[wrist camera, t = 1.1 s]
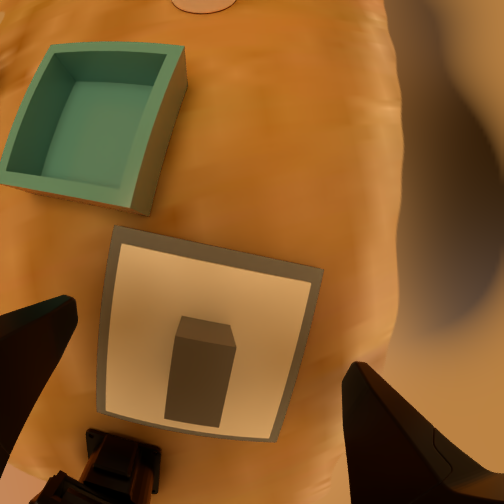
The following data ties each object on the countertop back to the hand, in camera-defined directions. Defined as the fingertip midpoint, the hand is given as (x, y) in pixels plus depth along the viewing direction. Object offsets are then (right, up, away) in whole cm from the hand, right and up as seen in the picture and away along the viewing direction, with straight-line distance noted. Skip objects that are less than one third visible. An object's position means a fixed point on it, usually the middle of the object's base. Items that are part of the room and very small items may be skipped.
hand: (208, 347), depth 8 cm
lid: (-2, -4, +10) cm, 11 cm away
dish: (-9, +11, +9) cm, 17 cm away
